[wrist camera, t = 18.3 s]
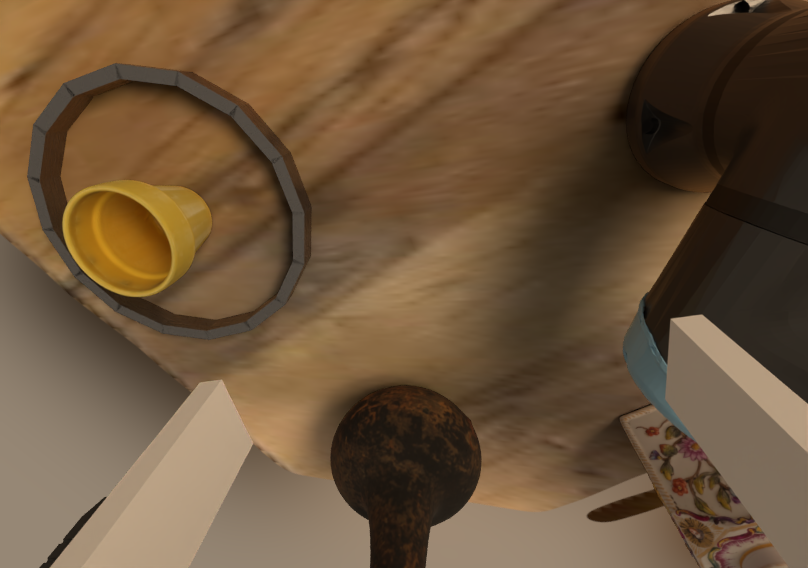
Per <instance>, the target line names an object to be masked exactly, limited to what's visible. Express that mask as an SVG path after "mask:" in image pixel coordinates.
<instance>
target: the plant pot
mask: <svg viewBox="0 0 808 568" xmlns="http://www.w3.org/2000/svg"><path fill="white" fill-rule="evenodd" d="M62 227H63V235H64V239H65V242H66V245H67V247H68V250H69V252H70V253H71V255H72V257H73V259H74V260H75V261H76V263H77V264H78V265H79V267H80V268H81V269H82V270H83V271H84V272H85V273H86V274H87V275H88V276H89V277H90V278H91V279H92V280H94V281H95V282H96V283H98V284H99V285H101V286H103V287H104V288H106V289H108V290H110V291H112V292H115V293H118V294H120V295H124V296H130V297H146V296H151V295H154V294H157V293H159V292H161V291H162V290H164V289H166V288H167V287H169V286H170V285H172V284H173V283H174V282H176V281H177V280H178V279H179V278H181V277H182V276H183V275H184V274H185V273H186V272H187V271H188V269H189V268H190V266H191V264H192V262H193V259H194V255H195V252H196V251H197V250H198V249H199V247H200V246H201V245H202V244H203V243H204V241H205V240H206V239H207V238H208V236H209V234H210V232H211V229H212V216H211V213H210V210H209V208H208V206H207V204H206V203H205V202H204V200H203V199H202V198H201V197H200V196H199V195H198V194H196V193H195V192H194V191H192V190H190V189H188V188H185V187H182V186H152V185H149V184H147V183H144V182H140V181H135V180H118V181H112V182H107V183H102V184H98V185H94V186H90V187H87V188H85V189H83V190H81V191H79V192H78V193H76V194H75V195H74V196H73V197H72V198H71V199H70V201H69V202H68V204H67V206H66V208H65V211H64V214H63V221H62Z"/></svg>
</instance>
